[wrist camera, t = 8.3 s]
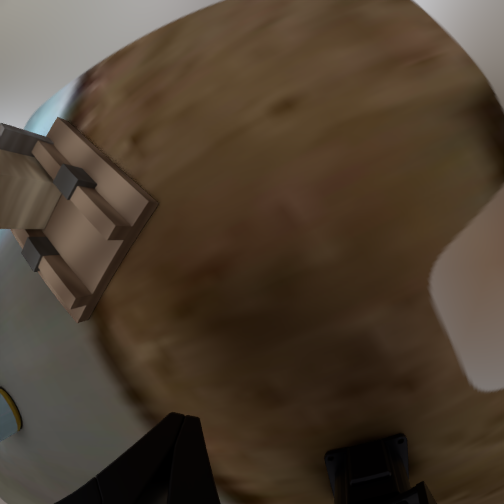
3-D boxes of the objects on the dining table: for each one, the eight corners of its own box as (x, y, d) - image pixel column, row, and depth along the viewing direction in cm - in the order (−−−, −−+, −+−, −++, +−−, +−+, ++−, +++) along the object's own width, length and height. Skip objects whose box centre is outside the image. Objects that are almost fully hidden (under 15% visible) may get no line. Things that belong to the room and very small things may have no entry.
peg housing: (159, 203, 22) (92, 190, 14) (88, 319, 24) (24, 340, 16) (67, 121, 24) (10, 98, 16) (16, 222, 26) (-39, 221, 18)
